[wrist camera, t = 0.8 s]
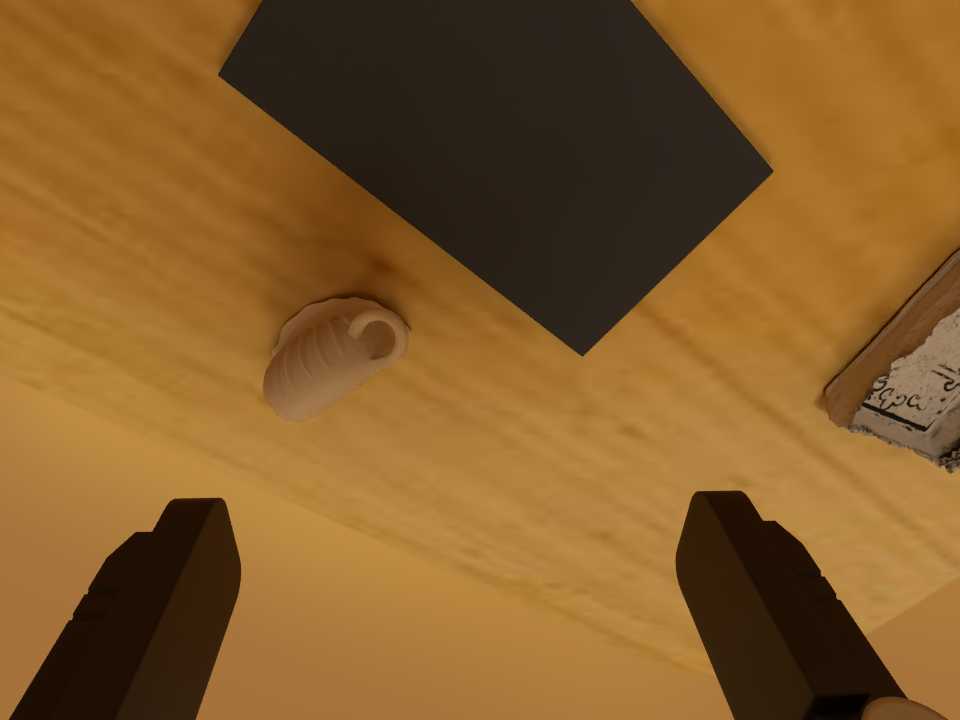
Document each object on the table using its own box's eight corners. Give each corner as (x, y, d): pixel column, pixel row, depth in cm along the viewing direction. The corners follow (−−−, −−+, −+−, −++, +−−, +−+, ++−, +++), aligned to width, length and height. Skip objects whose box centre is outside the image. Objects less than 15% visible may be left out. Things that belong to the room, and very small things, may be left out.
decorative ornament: (246, 347, 28) (215, 413, 24) (387, 252, 27) (384, 303, 22) (304, 403, 30) (286, 474, 26) (439, 317, 29) (445, 377, 24)
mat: (220, 74, 23) (217, 75, 22) (416, -249, 19) (416, -254, 18) (580, 353, 31) (582, 357, 30) (769, 169, 27) (774, 171, 26)
